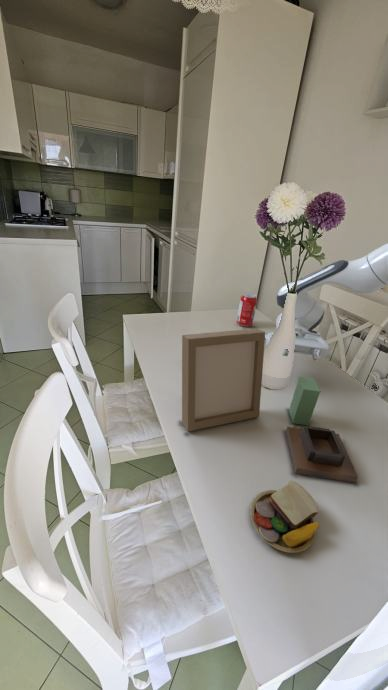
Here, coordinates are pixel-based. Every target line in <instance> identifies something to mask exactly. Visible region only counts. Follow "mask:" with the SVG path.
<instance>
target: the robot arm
mask: <svg viewBox="0 0 388 690" xmlns="http://www.w3.org/2000/svg"><path fill="white" fill-rule="evenodd" d="M297 280H298V281H297V286H296V292H297V300H296V308H295V334H296V339H295V349H294V353H293V354H296V355H297V354H298V355H304V356H311V359H312V361H316V362H317V361H319V359H320V358H326V357H328V355H329V353H330V346H329V344H328V342H327V341H326V340H325V338H323V337H321V333H320V332H319V331H316V330H314V329H315V328H317V327H318V326H319V325H320V324H321V323H322V322H323V319H324V317H325V308H324V306H322V304H321V303H320V302H319V301H318V300H316V298H314V297H313V296H312V295H311V294H310V293H309V291H312V290H314V289H316V288H319V287H320V286H323V285H326V284H336V285H338V286H341V287H344V288H347V289H349V290H350V291H353V292H355V293H359V294H372V293H375V292H377V291H380V290H382V289H383V288H385V287H387V286H388V242H387V243H385V244H383V245H381V246H380V247H379V246H378V247H377V248H376V249H373V250H371V252H369V253H368V254H366V255H364V256H362V257H360V258H357V259H353V260H344V259H341V260H338V261H334V262H332V263H330V264H328V265H325V266H323V267H321V268H319V269H317V270H315V271H313V272H311V273H309V274H307V275H305V276H303V277H301V278H298V279H297ZM295 281H296V280H293V281H289V282H288V285H289V289H291V288H292V286H293V285H294V284H295ZM287 292H288V288H287V283H285V284H284V285H282V286H281V288H279V289H278V291H277V292H276V304H277V306H279V307H280V308H281V309H283V308H284V304H285V300H286V296H287ZM281 316H282V312H281V313H279V314H278V315H277V317H276V321H275V328H276V330H277V328H278V326H279V323H280V320H281ZM274 332H275V331H270V332H268V333H265V346H266V345H268V344H269V342H270V338H271V337H272V335H273V334H274ZM281 354H282V353H281ZM289 354H290V353H289V351H288V349H283V354H282V356H283V357H288V356H289Z"/></svg>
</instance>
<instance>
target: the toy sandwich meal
mask: <svg viewBox="0 0 388 690" xmlns="http://www.w3.org/2000/svg"><path fill="white" fill-rule="evenodd" d="M319 509H320V508H319V506H318V504H317V502H316V500H315V499H314V497H313V496H312V495H311V494H310V493H309V492H308V491H307V490H306V489H305V487H303V486H302V485H301V484H300V483H297V482H296V481H293V480H290V481H289V482H288V484H287V485H285V486H283V487H281V488H280V489H278V490H275V489H273V490H265V491H262V492H260V493H259V494H257V495H256V496H255V497H254V499H253V500H252V502H251V505H250V512H249V514H250V519H251V522H252V526H253V527H254V529H255V531H256V533H257V534H258V535H259V536H260V538H261V539H262V540H263V541H264V542H266V543H267V544H268V545H269V546H270V547H272V548H274V549H276V550H278V551H281V552H283V553H284V552H285V553H289V554H294V553H296V554H297V553H301V552H303V551H306V550H307V549H308V548H310V547H311V545H312V544H313V542H314V540H315V537H316V531H317V530H318V529H319V527H320V524H319V523H318V521H315V522H314V518H315V517H316V516H317V515H318V513H319Z"/></svg>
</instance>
